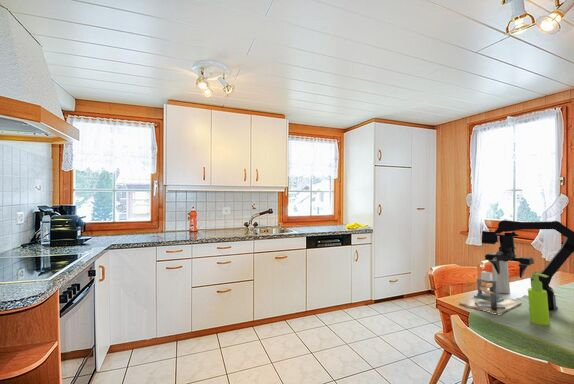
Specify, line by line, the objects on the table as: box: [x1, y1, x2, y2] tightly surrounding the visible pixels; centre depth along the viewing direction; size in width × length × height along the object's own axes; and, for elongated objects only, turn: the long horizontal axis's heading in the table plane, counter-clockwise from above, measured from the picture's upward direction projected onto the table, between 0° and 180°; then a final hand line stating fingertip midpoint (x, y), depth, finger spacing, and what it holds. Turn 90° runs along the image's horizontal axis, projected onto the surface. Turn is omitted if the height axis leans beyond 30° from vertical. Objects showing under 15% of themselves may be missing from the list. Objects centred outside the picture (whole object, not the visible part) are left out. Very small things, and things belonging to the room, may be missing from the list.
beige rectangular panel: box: [458, 293, 523, 315], centre depth 135 cm, size 17×24×2 cm
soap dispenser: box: [527, 272, 551, 326], centre depth 113 cm, size 6×7×20 cm
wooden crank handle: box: [480, 283, 497, 311], centre depth 135 cm, size 6×23×7 cm, turn 145°
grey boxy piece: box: [476, 270, 501, 300], centre depth 141 cm, size 4×8×12 cm, turn 31°
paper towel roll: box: [491, 252, 511, 294], centre depth 155 cm, size 7×6×21 cm
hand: (509, 276), depth 138 cm, fingers open, 9 cm apart
